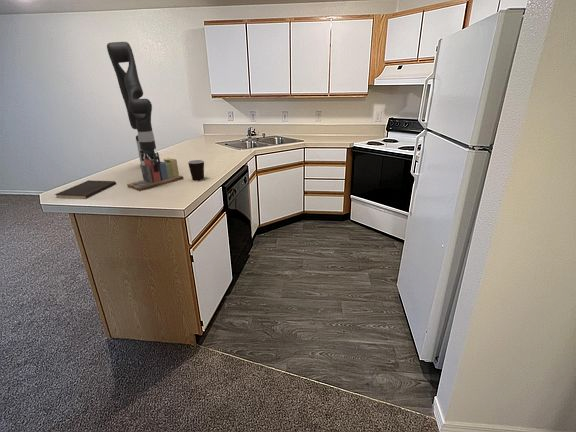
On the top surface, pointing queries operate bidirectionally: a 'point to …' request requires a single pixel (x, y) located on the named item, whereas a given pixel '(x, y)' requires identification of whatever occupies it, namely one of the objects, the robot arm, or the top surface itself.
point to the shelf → (167, 174)
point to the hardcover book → (86, 189)
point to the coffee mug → (197, 169)
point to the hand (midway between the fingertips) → (152, 170)
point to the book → (152, 171)
